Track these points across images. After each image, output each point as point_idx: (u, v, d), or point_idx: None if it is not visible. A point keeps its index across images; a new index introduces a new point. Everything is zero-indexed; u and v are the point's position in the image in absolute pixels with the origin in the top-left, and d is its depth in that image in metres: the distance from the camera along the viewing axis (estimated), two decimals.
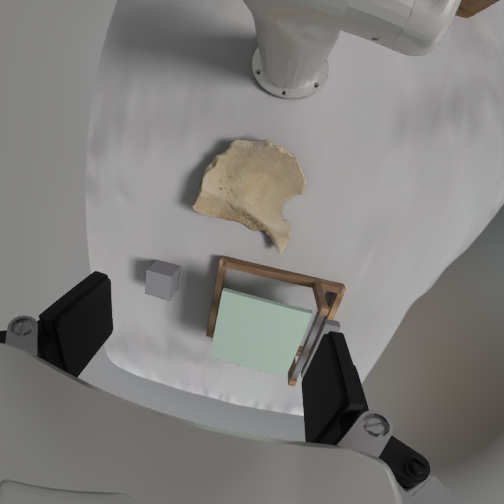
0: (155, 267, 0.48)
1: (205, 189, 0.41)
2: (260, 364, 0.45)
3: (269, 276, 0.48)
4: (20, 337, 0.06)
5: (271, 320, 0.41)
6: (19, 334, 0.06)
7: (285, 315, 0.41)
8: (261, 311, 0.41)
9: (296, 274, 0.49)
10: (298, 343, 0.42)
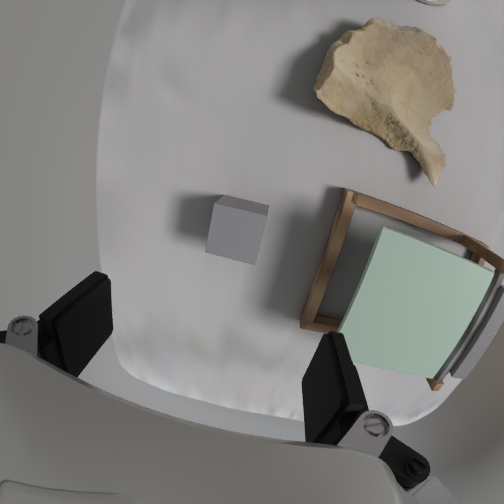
0: (228, 202, 0.27)
1: (339, 68, 0.20)
2: (406, 362, 0.24)
3: (416, 223, 0.26)
4: (20, 337, 0.06)
5: (445, 284, 0.21)
6: (19, 334, 0.06)
7: (465, 275, 0.20)
8: (436, 269, 0.20)
9: (441, 224, 0.27)
10: (467, 323, 0.21)
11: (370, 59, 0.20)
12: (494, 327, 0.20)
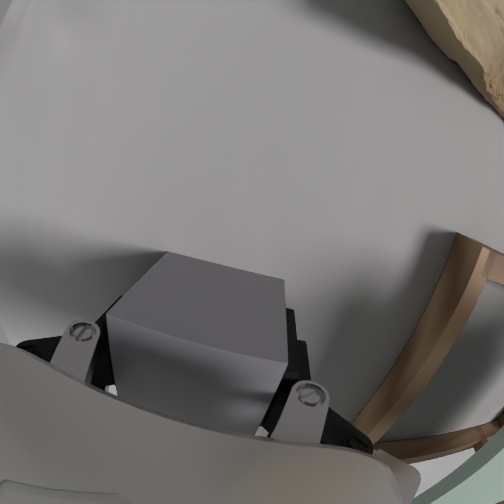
0: (162, 293, 0.08)
1: None
2: (483, 503, 0.06)
3: None
4: (77, 342, 0.06)
5: None
6: (77, 338, 0.07)
7: None
8: None
9: None
10: None
11: None
12: None
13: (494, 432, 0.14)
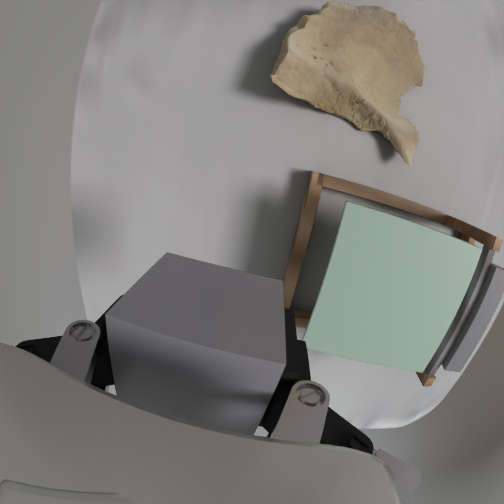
0: (161, 293, 0.08)
1: (294, 51, 0.20)
2: (390, 354, 0.23)
3: (391, 203, 0.25)
4: (77, 342, 0.06)
5: (426, 263, 0.20)
6: (77, 338, 0.07)
7: (448, 252, 0.19)
8: (413, 245, 0.20)
9: None
10: (456, 307, 0.20)
11: (328, 41, 0.20)
12: (488, 311, 0.18)
13: None
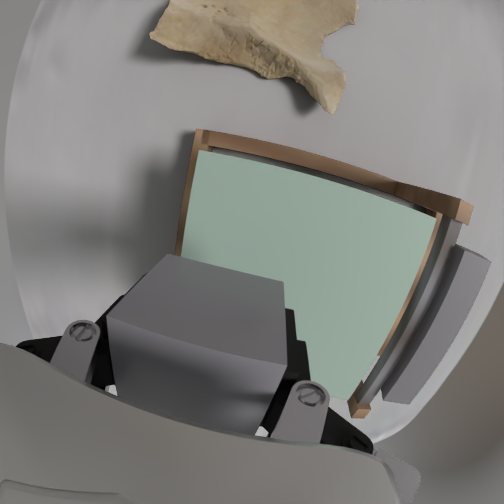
0: (162, 295, 0.08)
1: (176, 3, 0.14)
2: None
3: (305, 163, 0.20)
4: (77, 342, 0.06)
5: (330, 237, 0.14)
6: (77, 338, 0.07)
7: (370, 220, 0.13)
8: (303, 208, 0.14)
9: None
10: (395, 311, 0.14)
11: None
12: (453, 321, 0.13)
13: None
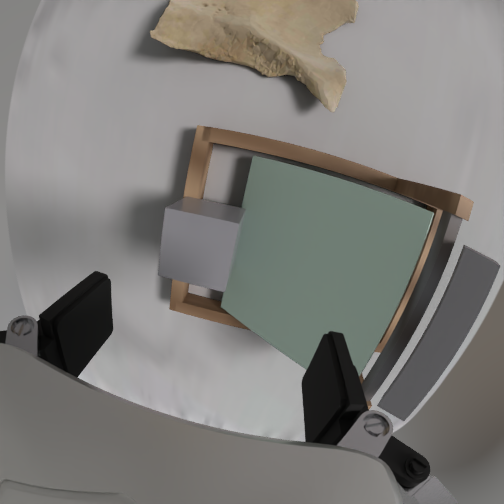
0: (205, 202, 0.21)
1: (177, 2, 0.14)
2: (300, 347, 0.20)
3: (306, 159, 0.20)
4: (20, 337, 0.06)
5: (336, 224, 0.17)
6: (19, 334, 0.06)
7: (369, 212, 0.15)
8: (317, 200, 0.17)
9: None
10: (392, 304, 0.15)
11: None
12: (455, 329, 0.12)
13: None
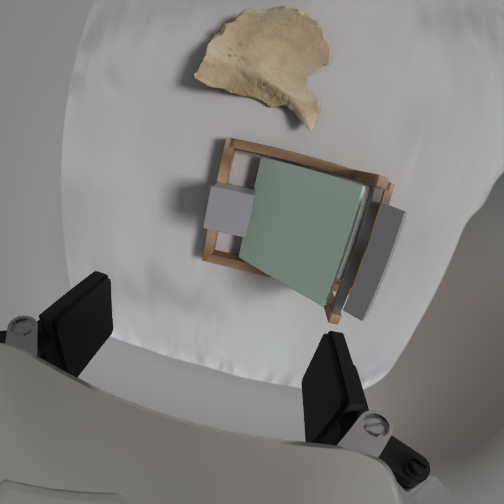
0: (231, 185, 0.34)
1: (211, 53, 0.27)
2: (292, 275, 0.32)
3: (294, 159, 0.33)
4: (20, 337, 0.06)
5: (310, 196, 0.29)
6: (19, 334, 0.06)
7: (328, 187, 0.28)
8: (299, 182, 0.30)
9: None
10: (343, 239, 0.27)
11: (242, 41, 0.28)
12: (382, 251, 0.24)
13: None
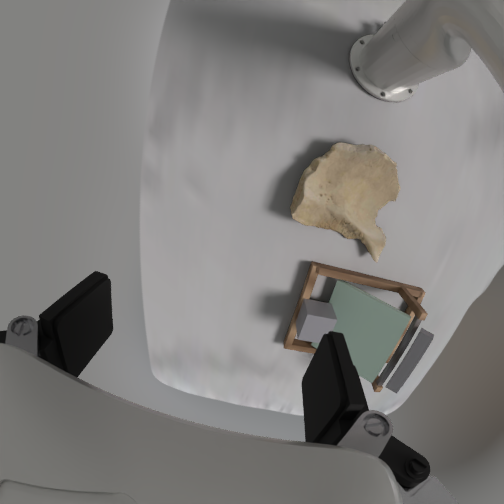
0: (315, 303, 0.44)
1: (307, 196, 0.37)
2: (353, 363, 0.43)
3: (361, 282, 0.43)
4: (20, 337, 0.06)
5: (373, 318, 0.40)
6: (19, 334, 0.06)
7: (387, 315, 0.38)
8: (366, 307, 0.40)
9: (383, 279, 0.44)
10: (392, 348, 0.38)
11: (331, 179, 0.38)
12: (415, 358, 0.35)
13: None
